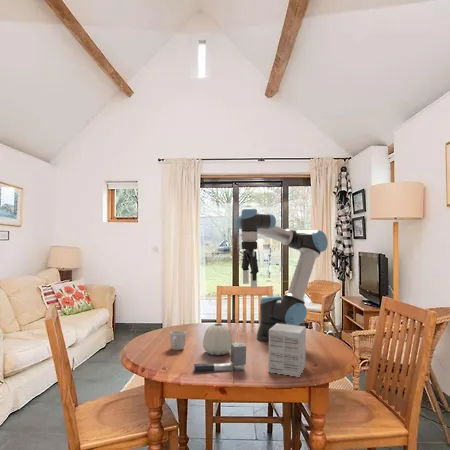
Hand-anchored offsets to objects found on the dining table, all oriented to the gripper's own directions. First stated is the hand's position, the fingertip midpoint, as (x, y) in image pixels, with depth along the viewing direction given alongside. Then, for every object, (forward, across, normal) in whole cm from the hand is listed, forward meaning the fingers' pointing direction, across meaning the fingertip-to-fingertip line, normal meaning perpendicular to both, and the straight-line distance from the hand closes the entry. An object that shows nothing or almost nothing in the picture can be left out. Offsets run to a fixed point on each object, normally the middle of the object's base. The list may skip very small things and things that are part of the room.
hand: (249, 285), depth 170 cm
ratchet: (+32, +18, -18) cm, 41 cm away
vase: (+32, -4, -15) cm, 36 cm away
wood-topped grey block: (+29, +18, -10) cm, 36 cm away
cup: (+32, -12, -34) cm, 48 cm away
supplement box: (+32, +23, +9) cm, 41 cm away
